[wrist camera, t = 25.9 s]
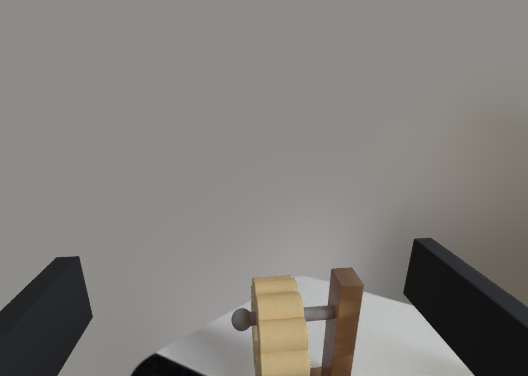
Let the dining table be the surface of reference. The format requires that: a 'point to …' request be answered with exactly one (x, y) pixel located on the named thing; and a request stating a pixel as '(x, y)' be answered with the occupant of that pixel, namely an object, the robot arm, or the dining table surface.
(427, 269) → the robot arm
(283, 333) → the yellow scalloped ring
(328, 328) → the hook stand
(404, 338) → the dining table surface
